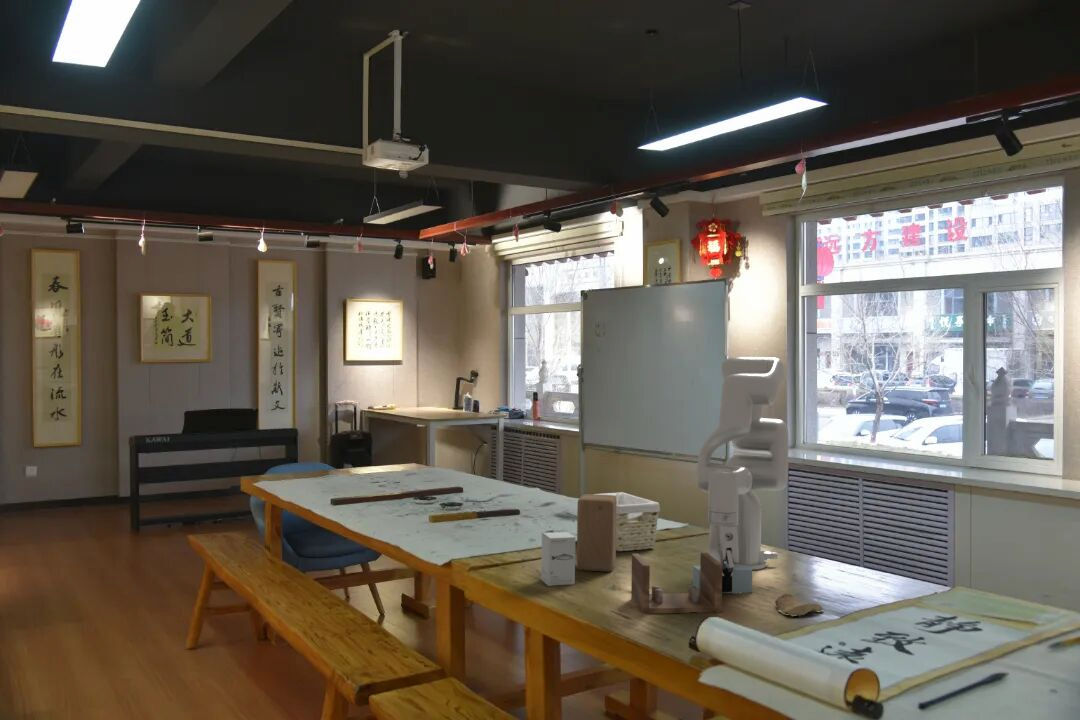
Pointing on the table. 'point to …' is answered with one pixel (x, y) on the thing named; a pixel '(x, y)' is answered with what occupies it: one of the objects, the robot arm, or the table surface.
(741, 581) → the grey rectangular block
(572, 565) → the supplement box
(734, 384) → the robot arm
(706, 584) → the peg frame
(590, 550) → the wooden block
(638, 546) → the storage basket
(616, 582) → the table surface
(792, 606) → the pottery shard
